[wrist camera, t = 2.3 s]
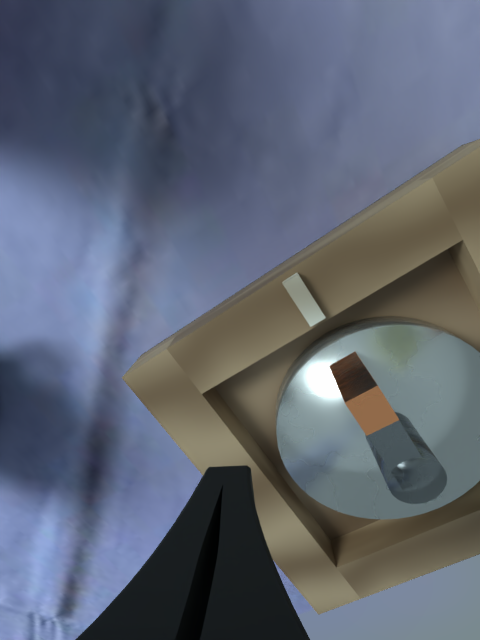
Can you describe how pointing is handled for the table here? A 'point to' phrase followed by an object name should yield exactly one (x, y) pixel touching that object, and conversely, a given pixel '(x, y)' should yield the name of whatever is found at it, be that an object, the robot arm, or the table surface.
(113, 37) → the table surface
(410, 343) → the dial
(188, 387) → the board
